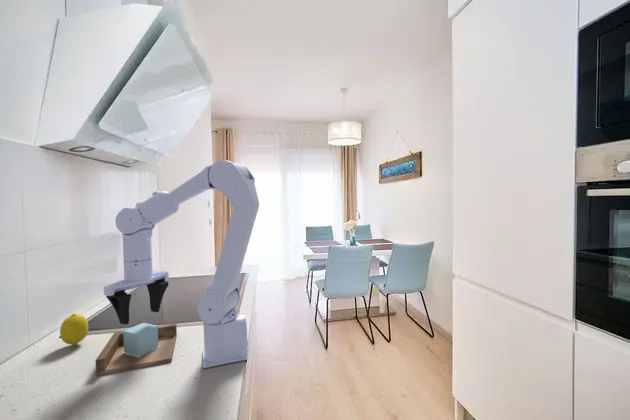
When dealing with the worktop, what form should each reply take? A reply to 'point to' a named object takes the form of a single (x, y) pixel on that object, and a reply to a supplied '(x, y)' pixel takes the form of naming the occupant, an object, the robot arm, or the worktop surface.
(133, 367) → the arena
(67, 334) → the lemon
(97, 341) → the worktop surface
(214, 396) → the worktop surface
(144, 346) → the cube
